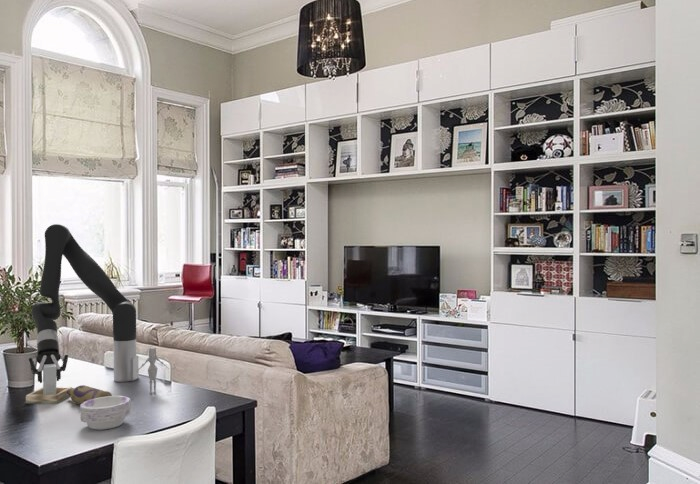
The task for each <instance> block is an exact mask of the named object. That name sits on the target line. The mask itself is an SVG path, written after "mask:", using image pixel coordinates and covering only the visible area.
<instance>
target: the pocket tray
mask: <svg viewBox="0 0 700 484" xmlns="http://www.w3.org/2000/svg"><path fill="white" fill-rule="evenodd" d="M70 388H73V387H70V386H68V387H67V386H65V387H63V386H62V387H59V386H56V395H43V386H42V387H41V388H38V389H36V390H34V391H32V392H30V393H28V394H26V395H25V404H29V405H30V404H32V405H33V404H36V405H37V404H41V405H42V404H58V403H60V402H62V401H64V400H65V399H67V398H70V397H71V396H70V395H68V393H67V391H68V389H70Z"/></svg>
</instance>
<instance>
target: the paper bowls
mask: <svg viewBox="0 0 700 484" xmlns="http://www.w3.org/2000/svg"><path fill="white" fill-rule="evenodd" d="M79 408H80V409H79V416H80V417H79V418H80V421H81V422H82V423H86V424H87V426H88V428H89V429H91V430H95V431H96V430H99V431H100V430H109V429H114V428H117V427H119V426H121V425H123V423H124V421H125V419H126V418H127V417H128V416H130V415H131V398H130V397H129V396H124V395H112V396H106V397H100V398H95V399H91V400H88V401H85V402H83V403H82V404H81V405H80V404H79Z"/></svg>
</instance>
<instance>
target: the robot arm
mask: <svg viewBox="0 0 700 484" xmlns="http://www.w3.org/2000/svg"><path fill="white" fill-rule="evenodd" d="M44 241H45V242H44V244H45V247H44V248H45V251H44V252H45V254H44V255H45V256H44V264H43V268H42V275H41V280H40V288H39V295H40V296H42V297H45V298H48V299H50V300H51V302H35V303H34V304H33V305H32V307H31V316H32V319H33V321H34V323H35V325H36V331H37V332H36V333H37V338H36V352H37V353H36V356H35V358H32V357H29V358H28V365H29V367H30V371H31V374H32V375H36V376H37V381H38V383H39V384H43V365H45V364H55V365H56V382H59V381H60V380H61V377H62V373H61V372H65V371H66V368H67V365H68V359H69V355H68V354H65V355H61V354H60V349H59V348H60V346H59V336H58V325H57V322H56V320H58V319H59V318H60V316H61V312H62V311H61V304H60V297H59V296H60V295H59V293H60V285H61V277H62V276H61V275H62V259H63V257H64V258H65V260H66V261H67V262H68V263H69V264H70V267H71V269H72V270H73V271H74V273H75V274H76V275H77V277H78V278H79V279H80V281H81V282H82V283H83V284H84V285H85V286H86V287H87V288H88V290H90V291H91V292H92V293H93V294H95V295H96V296H97V297H98V298H100V299H101V300H102V301H103V302H104V303H105V304H106V306H107V307H108V309H109V310H110V312H111V313H112V337H113V339H112V340H113V341H112V342H113V381H114V382H121V383H123V382H133V381H134V382H135V380H137V379H138V378H139V376H140V375H139V371H140V369H139V368H140V367H139V356H138V354H137V308H136V307H135V305H134V304H133V303H132V302H131V301H130V300H128V298H127V297H125V296H124V295H123V294H122V293H121V292H120V291H119V290H118V289H117V287H116V286H115V285H114V283H113V281H112V280H111V279H110V277H109V275H108V274H107V273H106V271H104V269H103V267H101V266H100V265H99V263H97V261H96V260H95V259H94V258H93V257H91V255H90V254H89V253H87V252H86V251H85V250H84V249H83V248H82V247H81V246H80V245H79V243H78V242H77V240H76V239H75V237H74V235H72V232H71V231H70V230H69V228H67V227H66V226H65V225H63V224H59V223H53V224H51V225H50V226H48V227H47V228H46V229H45V231H44ZM60 360H61V362H62V365H61V366H60V363H59V361H60ZM36 362H37V364H39V367H38V368H36ZM138 369H139V371H138ZM137 371H138V372H137Z"/></svg>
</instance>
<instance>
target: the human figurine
mask: <svg viewBox="0 0 700 484" xmlns="http://www.w3.org/2000/svg"><path fill="white" fill-rule="evenodd" d="M157 361H158V362H159V363H160V364H161V365H163V367H166V368H167V369H169V367H168V366H167V365H166V364H165V363H164V362H163V361H161V359H159V357H158V356H157V348H156V347H149V349H148V357H147V359H146V360H145V361H144V362H143V363H142V364H141V365H140V366H139V367H138V368H139V369H138V371H140V369H142V368H143V367H144V366H145V365H146V364H147V363H148V362H149V365H148V367H147V374H148V378H149V382H148V383H149V394H150V395H152V394H154V395H155V394H156V393H157V390H156V389H157V380H156V379H157V374H158V367H157V365H156V364H155V363H156V362H157ZM138 371H137V372H138ZM152 389H153V390H154V391H152Z"/></svg>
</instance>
